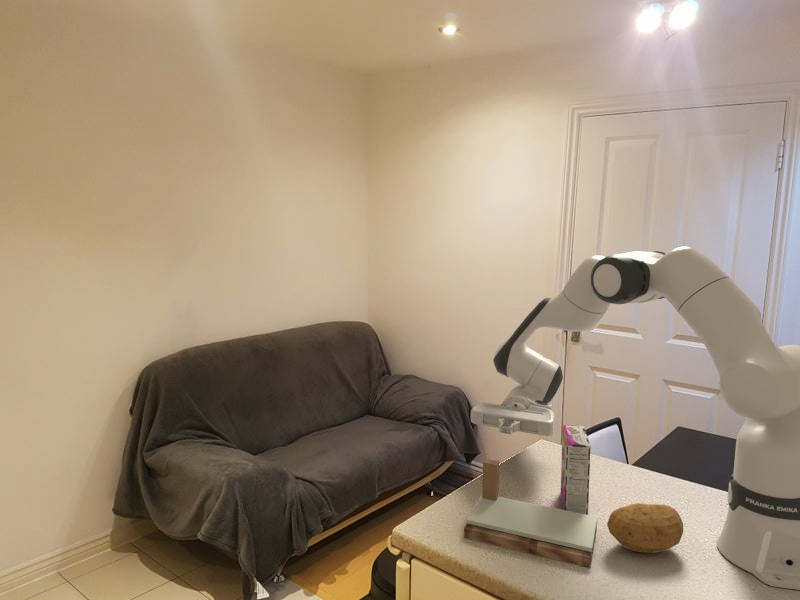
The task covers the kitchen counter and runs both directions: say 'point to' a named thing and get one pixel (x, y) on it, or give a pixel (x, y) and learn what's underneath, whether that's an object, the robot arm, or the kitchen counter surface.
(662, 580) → the kitchen counter surface
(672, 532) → the potato
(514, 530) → the lid
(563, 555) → the frame
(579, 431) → the candy bar box
